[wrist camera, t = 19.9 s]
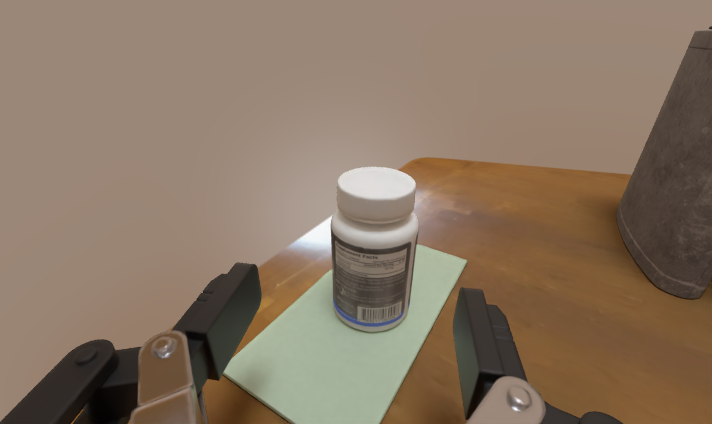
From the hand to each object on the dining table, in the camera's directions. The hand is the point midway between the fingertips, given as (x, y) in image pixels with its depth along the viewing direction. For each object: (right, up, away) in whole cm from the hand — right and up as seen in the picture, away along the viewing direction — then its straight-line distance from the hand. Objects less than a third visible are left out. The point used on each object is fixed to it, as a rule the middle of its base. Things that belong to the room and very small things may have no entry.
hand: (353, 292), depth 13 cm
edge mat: (+1, -3, +8) cm, 8 cm away
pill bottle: (+1, -3, +8) cm, 8 cm away
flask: (+24, 0, +15) cm, 29 cm away
